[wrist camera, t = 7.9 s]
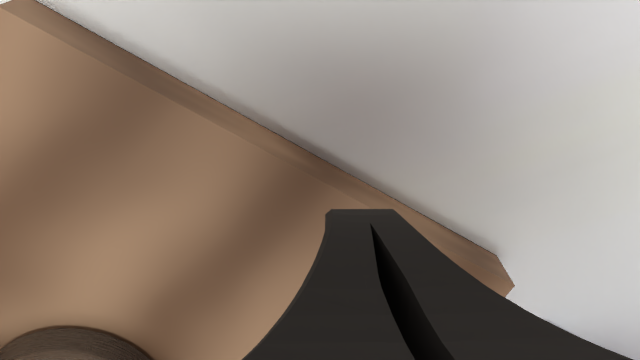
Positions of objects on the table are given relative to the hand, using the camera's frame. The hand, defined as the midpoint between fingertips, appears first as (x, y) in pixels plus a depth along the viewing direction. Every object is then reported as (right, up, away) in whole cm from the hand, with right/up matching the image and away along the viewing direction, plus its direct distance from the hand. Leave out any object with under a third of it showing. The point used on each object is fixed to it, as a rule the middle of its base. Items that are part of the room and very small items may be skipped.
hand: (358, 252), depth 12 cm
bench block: (-7, -5, +12) cm, 15 cm away
